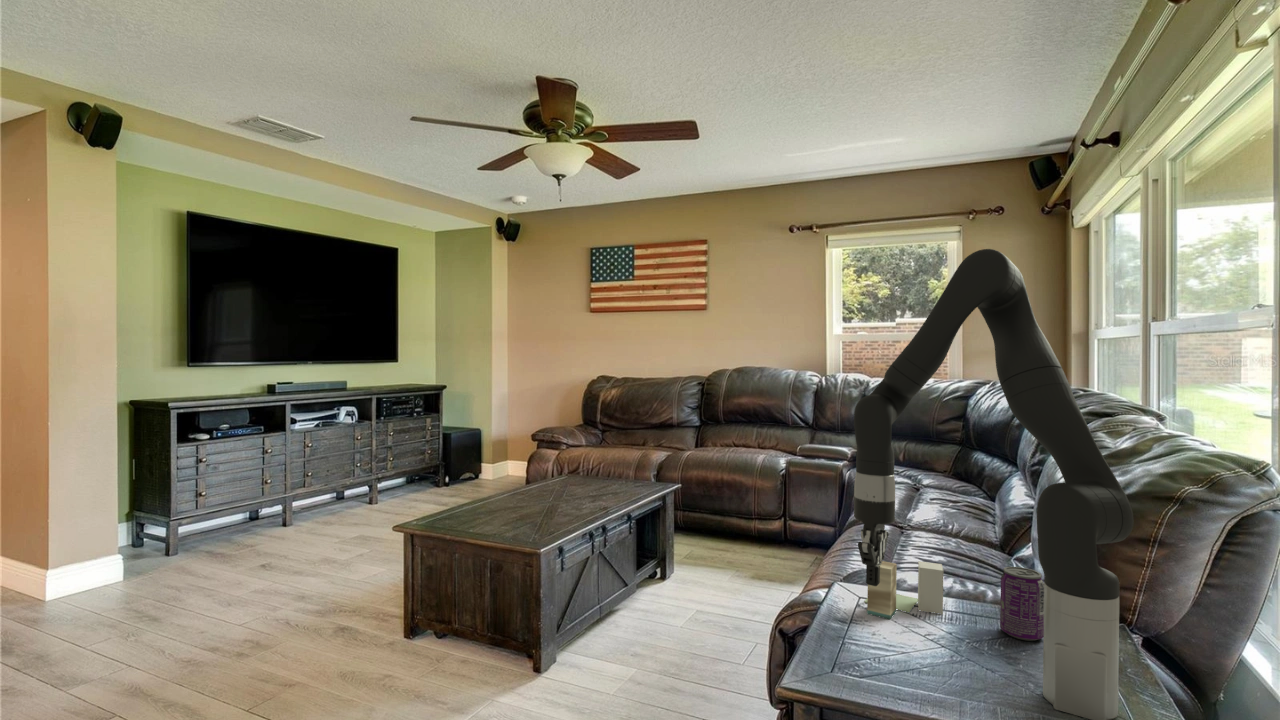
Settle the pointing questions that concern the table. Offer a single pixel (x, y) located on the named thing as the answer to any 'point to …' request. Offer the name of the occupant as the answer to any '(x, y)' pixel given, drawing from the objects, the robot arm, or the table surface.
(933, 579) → the grey block
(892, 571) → the birch block
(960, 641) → the table surface
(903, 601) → the mat
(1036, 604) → the beverage can
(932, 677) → the table surface
